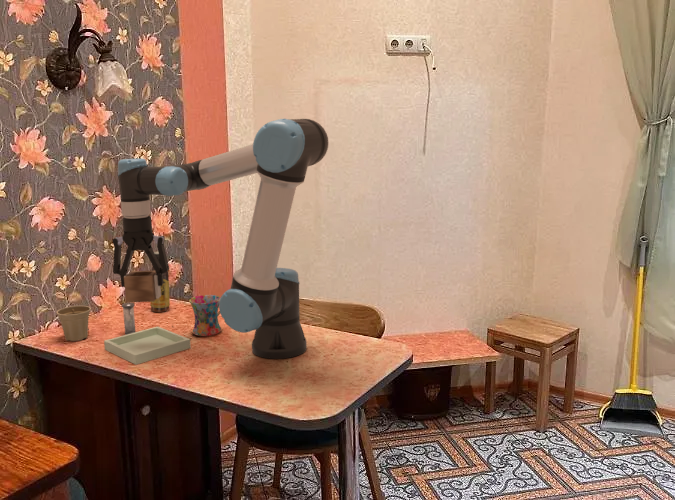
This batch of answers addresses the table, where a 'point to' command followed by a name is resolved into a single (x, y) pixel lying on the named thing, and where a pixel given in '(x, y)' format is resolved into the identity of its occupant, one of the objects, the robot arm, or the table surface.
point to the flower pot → (74, 322)
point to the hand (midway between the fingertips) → (143, 297)
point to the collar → (140, 286)
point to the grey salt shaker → (129, 317)
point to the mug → (206, 314)
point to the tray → (147, 345)
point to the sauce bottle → (162, 293)
